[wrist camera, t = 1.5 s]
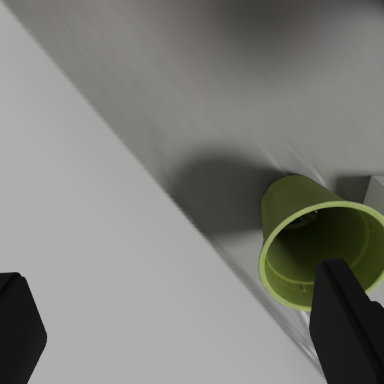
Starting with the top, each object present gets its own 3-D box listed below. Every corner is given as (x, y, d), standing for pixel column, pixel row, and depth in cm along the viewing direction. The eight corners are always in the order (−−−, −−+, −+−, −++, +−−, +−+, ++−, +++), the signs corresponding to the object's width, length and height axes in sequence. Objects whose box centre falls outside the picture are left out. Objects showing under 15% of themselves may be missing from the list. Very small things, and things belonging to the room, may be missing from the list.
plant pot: (280, 259, 42) (308, 331, 32) (221, 199, 39) (230, 258, 28) (362, 204, 39) (422, 265, 29) (305, 132, 35) (351, 173, 25)
